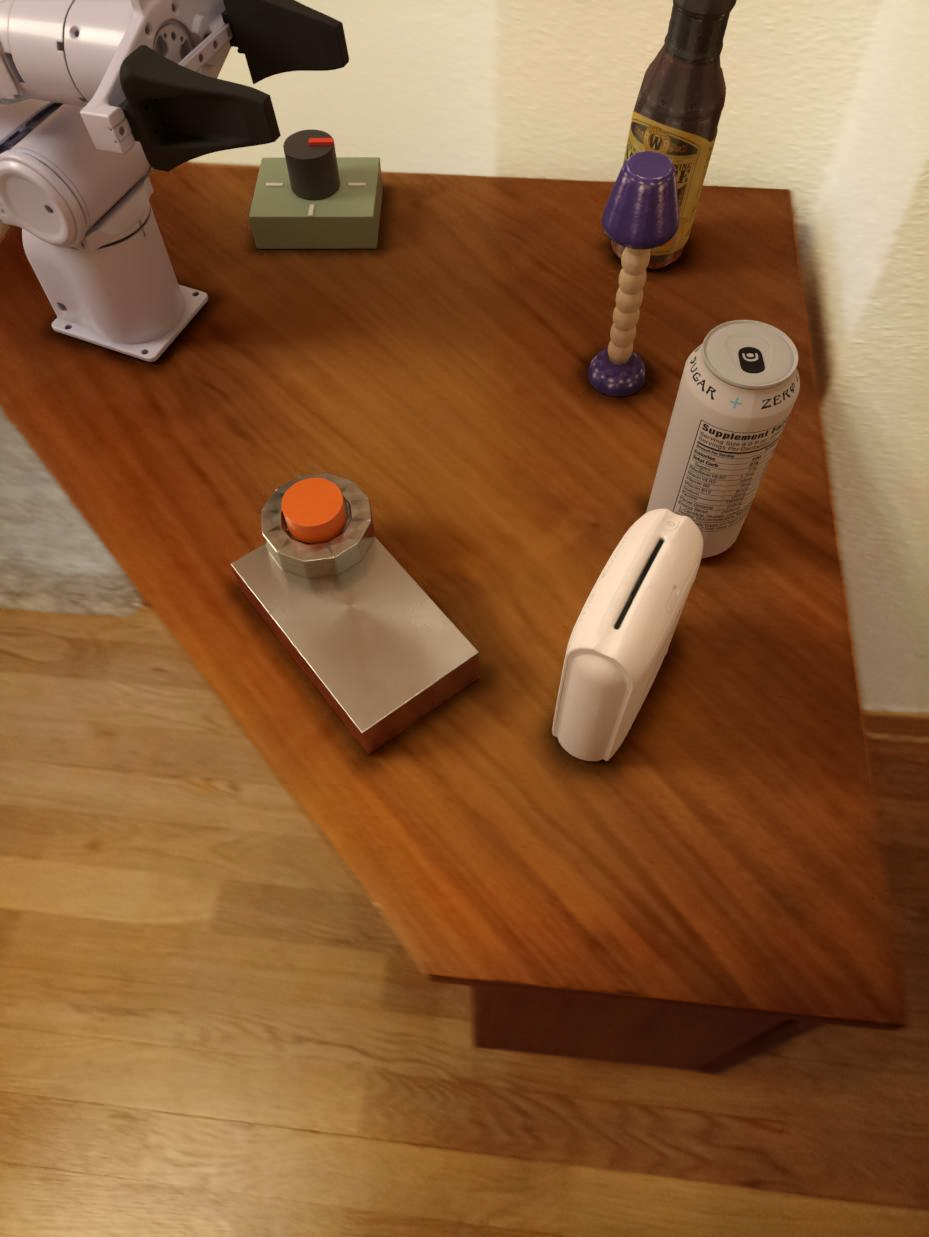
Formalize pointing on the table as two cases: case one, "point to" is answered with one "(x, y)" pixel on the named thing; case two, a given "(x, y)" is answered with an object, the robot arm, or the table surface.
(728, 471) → the energy drink can
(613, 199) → the toy lamp
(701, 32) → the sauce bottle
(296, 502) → the button
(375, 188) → the panel
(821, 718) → the table surface
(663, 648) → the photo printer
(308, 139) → the knob
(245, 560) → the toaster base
